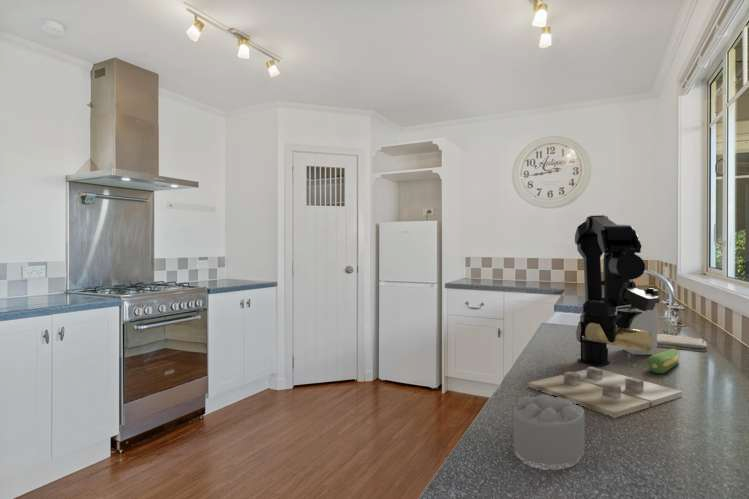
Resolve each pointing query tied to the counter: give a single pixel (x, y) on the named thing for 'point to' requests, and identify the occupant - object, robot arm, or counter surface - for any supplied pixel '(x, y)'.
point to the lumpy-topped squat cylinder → (548, 429)
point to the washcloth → (681, 342)
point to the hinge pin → (621, 337)
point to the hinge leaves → (606, 391)
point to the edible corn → (663, 361)
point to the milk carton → (645, 329)
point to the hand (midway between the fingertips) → (617, 341)
